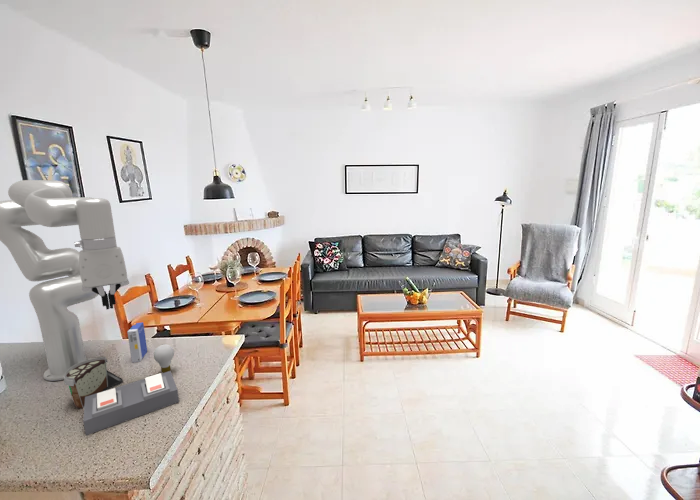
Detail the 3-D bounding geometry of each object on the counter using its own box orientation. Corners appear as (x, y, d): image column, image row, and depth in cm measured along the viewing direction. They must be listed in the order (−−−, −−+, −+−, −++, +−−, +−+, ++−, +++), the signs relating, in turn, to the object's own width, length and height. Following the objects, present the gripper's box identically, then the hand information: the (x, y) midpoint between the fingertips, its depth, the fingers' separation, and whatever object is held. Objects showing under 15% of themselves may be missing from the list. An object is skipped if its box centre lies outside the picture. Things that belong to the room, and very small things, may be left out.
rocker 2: (145, 380, 94) (144, 377, 93) (161, 375, 96) (160, 372, 96) (148, 395, 90) (147, 392, 90) (164, 390, 93) (164, 387, 92)
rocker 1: (97, 396, 88) (96, 393, 87) (115, 391, 90) (115, 387, 90) (98, 411, 84) (97, 407, 83) (117, 405, 86) (116, 401, 85)
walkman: (139, 352, 122) (134, 322, 120) (147, 351, 123) (143, 321, 121) (131, 363, 115) (126, 331, 113) (140, 361, 116) (135, 330, 113)
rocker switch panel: (87, 409, 91) (84, 393, 90) (171, 382, 103) (170, 367, 102) (85, 435, 82) (82, 417, 81) (179, 401, 94) (177, 386, 93)
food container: (92, 385, 102) (87, 355, 100) (111, 385, 102) (106, 355, 100) (56, 411, 90) (49, 379, 88) (78, 412, 90) (72, 379, 88)
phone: (101, 367, 111) (123, 379, 104) (102, 370, 111) (124, 383, 104) (73, 378, 105) (94, 393, 97) (73, 381, 105) (95, 396, 97)
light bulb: (167, 379, 105) (163, 350, 103) (152, 377, 106) (147, 348, 104) (180, 369, 111) (177, 341, 109) (165, 367, 112) (161, 340, 110)
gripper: (62, 249, 82) (75, 318, 86) (133, 243, 91) (142, 305, 94) (64, 245, 88) (76, 309, 92) (131, 239, 97) (139, 298, 100)
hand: (109, 307), depth 93 cm, fingers closed
